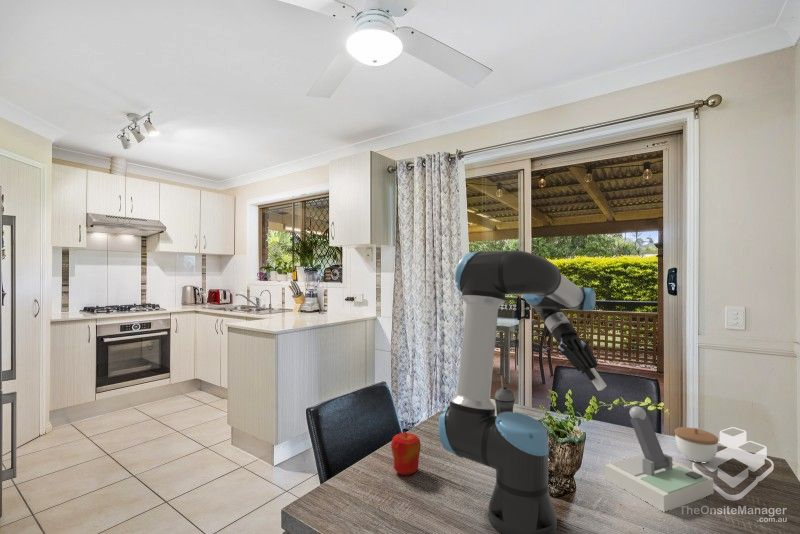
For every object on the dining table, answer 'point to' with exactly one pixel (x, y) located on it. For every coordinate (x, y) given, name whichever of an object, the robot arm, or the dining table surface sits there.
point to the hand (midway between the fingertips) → (602, 388)
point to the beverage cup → (504, 400)
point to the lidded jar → (696, 443)
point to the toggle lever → (647, 438)
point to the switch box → (659, 482)
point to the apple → (406, 453)
